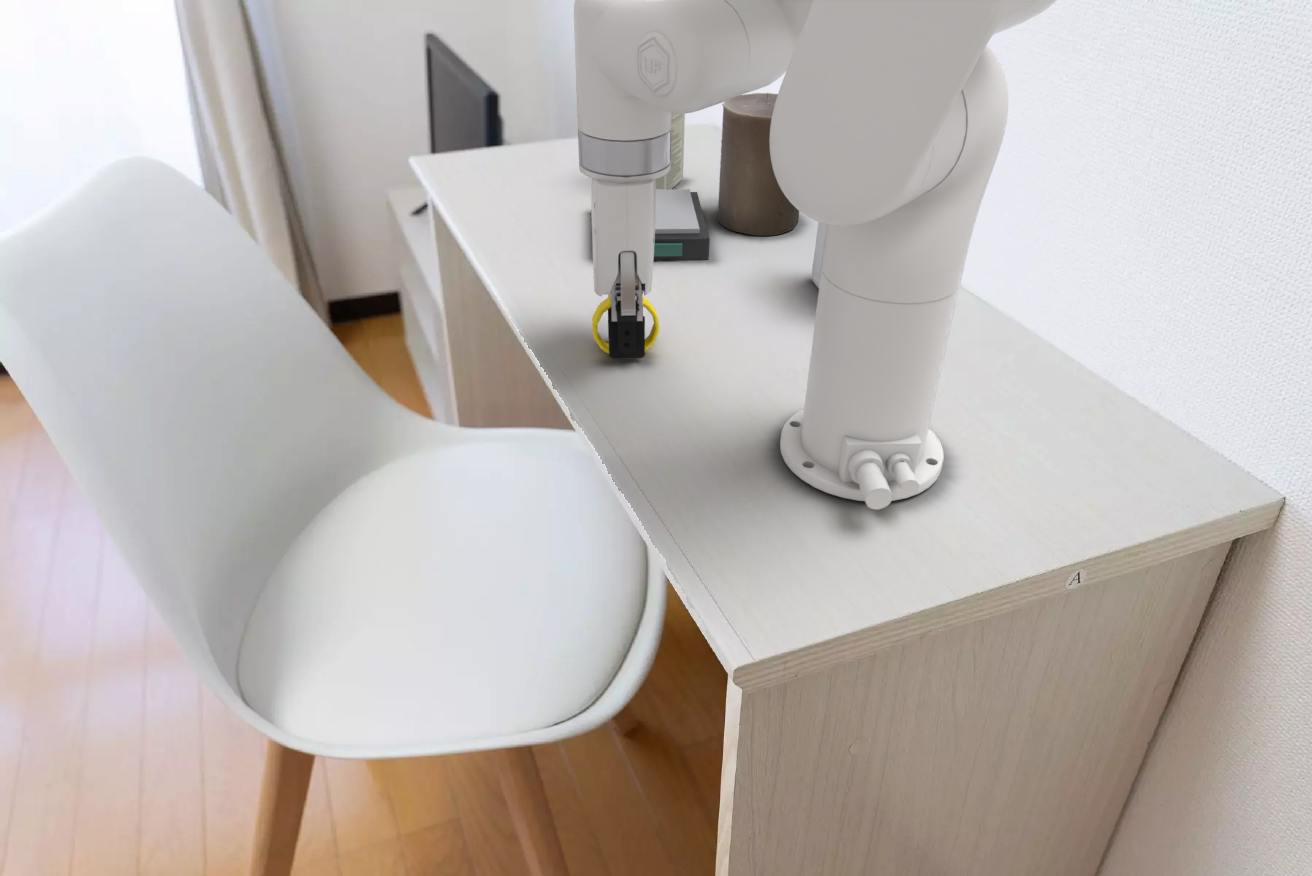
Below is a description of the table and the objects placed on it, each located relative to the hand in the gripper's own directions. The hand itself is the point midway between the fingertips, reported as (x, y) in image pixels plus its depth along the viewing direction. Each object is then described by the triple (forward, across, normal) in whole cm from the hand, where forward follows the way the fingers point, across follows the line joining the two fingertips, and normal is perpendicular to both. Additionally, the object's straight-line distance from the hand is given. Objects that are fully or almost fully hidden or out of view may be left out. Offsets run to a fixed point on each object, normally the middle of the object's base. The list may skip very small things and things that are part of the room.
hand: (626, 347), depth 89 cm
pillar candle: (+1, -31, +17) cm, 35 cm away
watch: (+1, 0, 0) cm, 1 cm away
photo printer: (+1, -10, +23) cm, 25 cm away
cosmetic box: (+1, -43, +6) cm, 44 cm away
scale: (0, -27, +4) cm, 27 cm away
